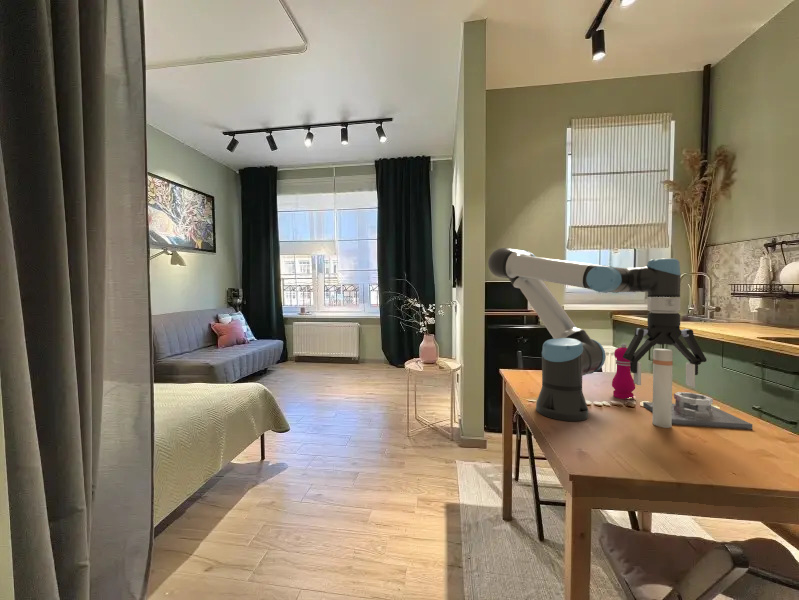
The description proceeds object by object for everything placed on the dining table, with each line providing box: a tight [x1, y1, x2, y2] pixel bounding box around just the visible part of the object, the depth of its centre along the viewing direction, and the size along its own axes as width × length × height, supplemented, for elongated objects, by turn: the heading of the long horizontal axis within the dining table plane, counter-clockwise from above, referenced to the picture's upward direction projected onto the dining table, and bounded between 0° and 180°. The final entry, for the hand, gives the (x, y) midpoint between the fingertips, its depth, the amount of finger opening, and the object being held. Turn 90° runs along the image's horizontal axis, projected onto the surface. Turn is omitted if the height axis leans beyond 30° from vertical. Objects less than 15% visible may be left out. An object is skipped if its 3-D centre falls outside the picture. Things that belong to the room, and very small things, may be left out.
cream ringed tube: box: [652, 348, 674, 429], centre depth 98 cm, size 4×4×22 cm
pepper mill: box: [611, 343, 636, 400], centre depth 124 cm, size 7×7×20 cm
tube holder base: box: [642, 391, 753, 430], centre depth 104 cm, size 20×16×6 cm
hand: (663, 385), depth 98 cm, fingers open, 13 cm apart
